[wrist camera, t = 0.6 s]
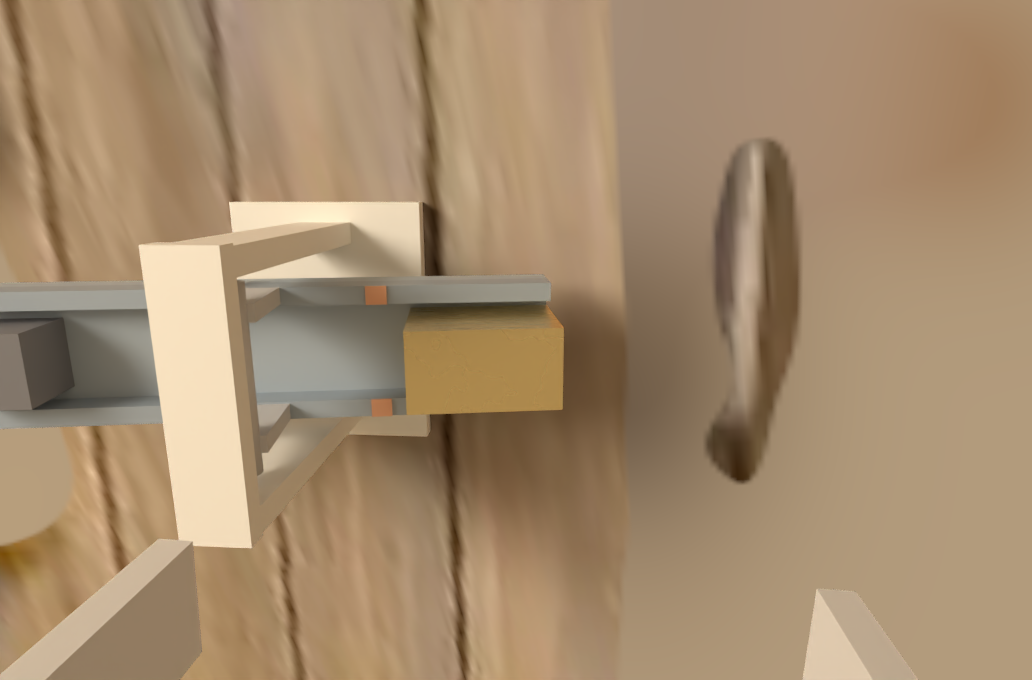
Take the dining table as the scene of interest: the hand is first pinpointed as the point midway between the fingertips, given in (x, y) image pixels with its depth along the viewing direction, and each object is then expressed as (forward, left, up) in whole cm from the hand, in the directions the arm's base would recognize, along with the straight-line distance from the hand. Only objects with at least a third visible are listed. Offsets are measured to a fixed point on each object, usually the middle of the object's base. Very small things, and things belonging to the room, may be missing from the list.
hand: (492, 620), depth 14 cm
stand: (-1, -12, -26) cm, 29 cm away
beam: (-1, -14, -21) cm, 25 cm away
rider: (-1, -3, -21) cm, 21 cm away
